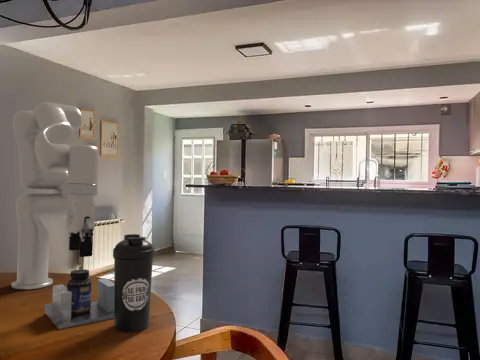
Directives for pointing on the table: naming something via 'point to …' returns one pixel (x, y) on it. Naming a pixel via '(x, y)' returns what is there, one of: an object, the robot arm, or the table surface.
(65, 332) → the table surface
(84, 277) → the pill bottle
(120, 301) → the water bottle
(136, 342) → the table surface
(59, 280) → the table surface
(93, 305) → the vise base
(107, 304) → the sliding jaw
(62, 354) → the table surface
